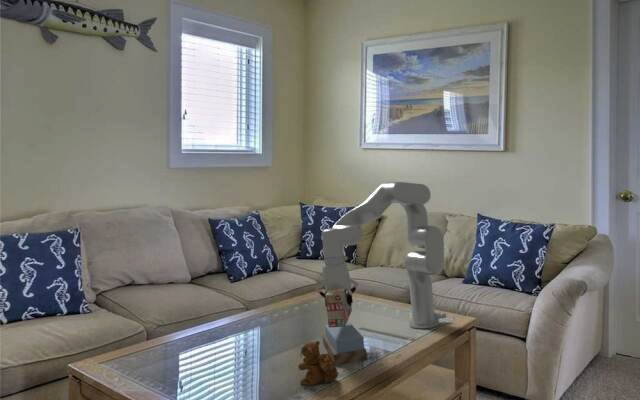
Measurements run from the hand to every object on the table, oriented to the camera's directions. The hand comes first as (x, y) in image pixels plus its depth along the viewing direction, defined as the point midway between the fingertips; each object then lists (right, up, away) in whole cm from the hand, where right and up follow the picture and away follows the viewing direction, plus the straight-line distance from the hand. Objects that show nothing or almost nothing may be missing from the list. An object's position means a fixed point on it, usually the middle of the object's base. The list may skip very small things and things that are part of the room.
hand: (339, 306), depth 217 cm
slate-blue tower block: (+2, -14, 0) cm, 14 cm away
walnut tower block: (+2, -18, +1) cm, 19 cm away
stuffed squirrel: (-7, -20, -26) cm, 34 cm away
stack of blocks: (+1, -5, +1) cm, 5 cm away
